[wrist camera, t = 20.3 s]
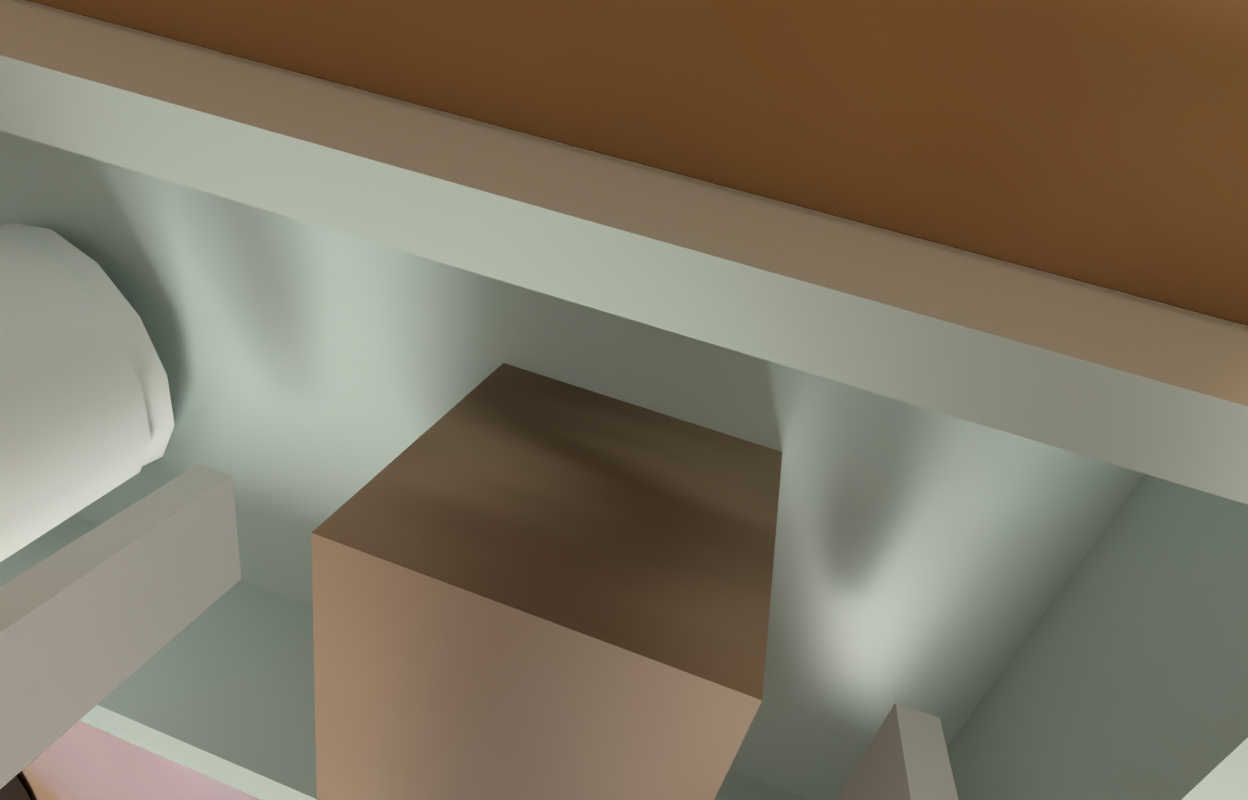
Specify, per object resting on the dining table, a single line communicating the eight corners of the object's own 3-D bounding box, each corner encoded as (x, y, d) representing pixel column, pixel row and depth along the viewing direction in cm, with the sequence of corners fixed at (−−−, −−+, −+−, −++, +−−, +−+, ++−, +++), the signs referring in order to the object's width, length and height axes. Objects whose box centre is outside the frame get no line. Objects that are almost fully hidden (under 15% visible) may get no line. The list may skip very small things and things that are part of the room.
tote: (-59, 468, 22) (-279, 564, 17) (-248, -73, 15) (-701, -143, 10) (907, 843, 17) (939, 1095, 13) (1292, 338, 10) (1639, 517, 6)
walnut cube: (474, 572, 16) (316, 797, 11) (503, 362, 14) (311, 532, 8) (701, 656, 16) (646, 940, 10) (782, 452, 13) (762, 700, 8)
